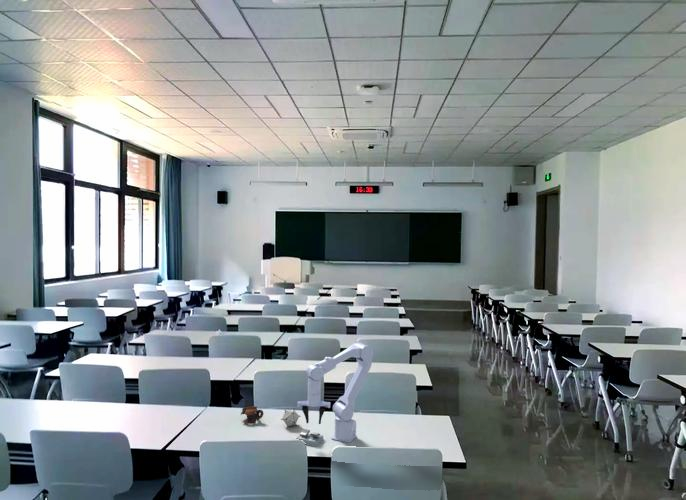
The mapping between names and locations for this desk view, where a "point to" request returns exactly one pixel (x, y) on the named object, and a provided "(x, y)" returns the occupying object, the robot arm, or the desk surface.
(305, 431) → the rocker
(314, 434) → the rocker
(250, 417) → the pottery mug
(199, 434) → the desk surface
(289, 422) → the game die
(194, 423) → the desk surface
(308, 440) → the switch panel
